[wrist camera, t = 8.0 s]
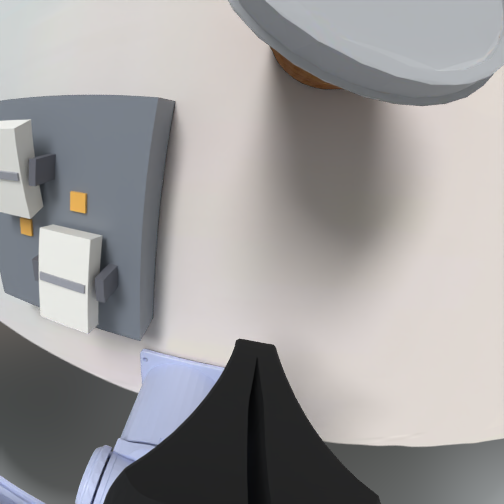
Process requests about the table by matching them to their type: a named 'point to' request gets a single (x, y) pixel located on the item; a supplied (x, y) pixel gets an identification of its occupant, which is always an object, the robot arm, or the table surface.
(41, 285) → the rocker
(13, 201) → the rocker
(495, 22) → the disposable coffee cup
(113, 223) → the console
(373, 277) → the table surface
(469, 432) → the table surface
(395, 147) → the table surface
